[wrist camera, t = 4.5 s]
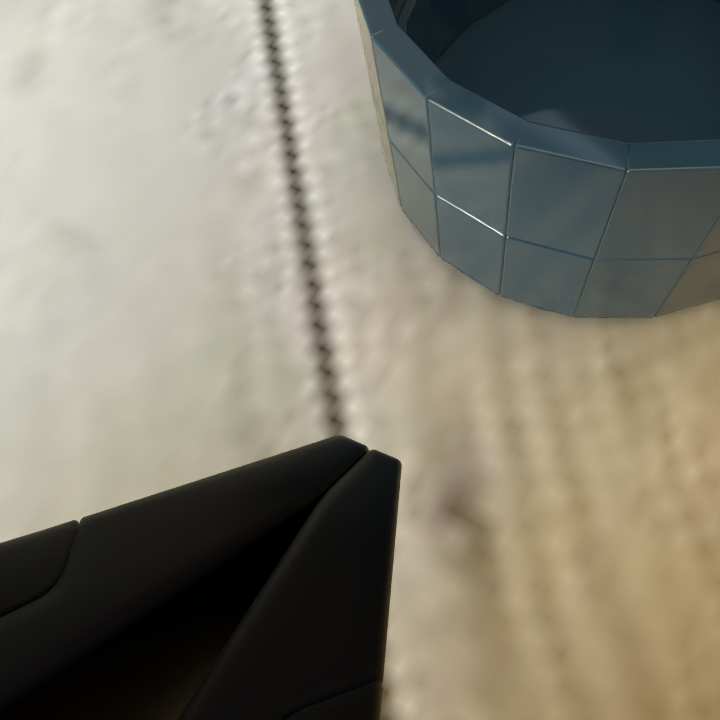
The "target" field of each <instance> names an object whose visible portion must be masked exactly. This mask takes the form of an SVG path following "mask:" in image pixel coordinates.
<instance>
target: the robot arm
mask: <svg viewBox="0 0 720 720" xmlns="http://www.w3.org/2000/svg"><path fill="white" fill-rule="evenodd" d="M401 467H402V465H401V462H400V461H399V460H398V459H396V458H393V457H391V456H389V455H386V454H384V453H382V452H379V451H377V450H370V451H369V449H368V448H367V446H365V445H363V444H361V443H359V442H356V441H354V440H352V439H349V438H347V437H345V436H341V435H339V436H334V437H331V438H328V439H325V440H321V441H318V442H315V443H312V444H309V445H306V446H303V447H300V448H297V449H294V450H291V451H287V452H284V453H281V454H278V455H275V456H272V457H269V458H266V459H263V460H260V461H256V462H253V463H250V464H247V465H244V466H241V467H238V468H235V469H232V470H229V471H225V472H222V473H219V474H216V475H213V476H210V477H207V478H204V479H201V480H198V481H194V482H191V483H188V484H185V485H182V486H179V487H176V488H173V489H170V490H167V491H164V492H160V493H157V494H154V495H151V496H148V497H145V498H142V499H139V500H136V501H133V502H129V503H126V504H123V505H120V506H117V507H114V508H111V509H108V510H105V511H102V512H98V513H95V514H92V515H89V516H86V517H83V518H82V519H81V521H80V524H79V522H78V521H76V520H73V521H70V522H67V523H64V524H61V525H57V526H54V527H51V528H48V529H45V530H42V531H39V532H35V533H32V534H29V535H25V536H22V537H19V538H15V539H12V540H9V541H5V542H2V543H0V720H380V713H381V702H382V686H381V685H382V682H383V674H384V663H385V651H386V640H387V628H388V617H389V605H390V594H391V582H392V571H393V559H394V548H395V536H396V525H397V513H398V502H399V490H400V479H401Z"/></svg>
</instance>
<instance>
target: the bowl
mask: <svg viewBox="0 0 720 720" xmlns="http://www.w3.org/2000/svg"><path fill="white" fill-rule="evenodd" d="M354 3H355V8H356V13H357V18H358V23H359V28H360V33H361V39H362V44H363V49H364V54H365V59H366V64H367V69H368V75H369V79H370V85H371V90H372V95H373V100H374V105H375V110H376V115H377V121H378V126H379V131H380V136H381V141H382V146H383V151H384V157H385V160H386V163H387V166H388V169H389V172H390V175H391V178H392V182H393V185H394V188H395V191H396V194H397V197H398V200H399V203H400V206H401V207H402V210H403V212H404V213H405V214H406V215H407V217H408V218H409V219H410V220H411V222H412V223H413V224H414V225H415V227H416V228H417V229H418V230H419V232H420V233H421V234H422V235H423V237H424V238H425V239H426V241H427V242H428V243H429V244H430V246H431V247H432V248H433V249H434V251H435V252H436V253H437V254H438V256H440V257H441V258H442V259H443V260H444V261H446V262H447V263H449V264H451V265H452V266H454V267H455V268H457V269H458V270H460V271H461V272H463V273H465V274H466V275H468V276H469V277H471V278H472V279H474V280H475V281H477V282H478V283H480V284H482V285H483V286H485V287H486V288H488V289H489V290H491V291H492V292H494V293H496V294H497V295H501V296H502V297H505V298H509V299H512V300H515V301H518V302H521V303H524V304H527V305H530V306H533V307H536V308H539V309H542V310H547V311H552V312H557V313H561V314H564V315H568V316H574V317H597V318H652V317H658V316H662V315H665V314H669V313H672V312H676V311H679V310H683V309H686V308H690V307H693V306H697V305H700V304H704V303H707V302H711V301H714V300H718V299H720V0H354Z"/></svg>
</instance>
